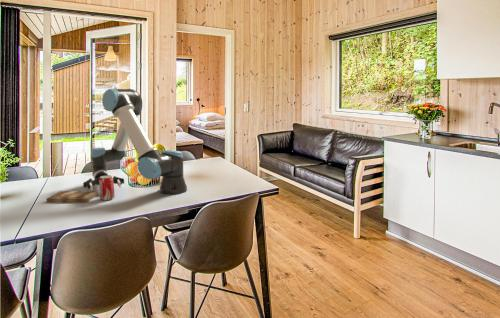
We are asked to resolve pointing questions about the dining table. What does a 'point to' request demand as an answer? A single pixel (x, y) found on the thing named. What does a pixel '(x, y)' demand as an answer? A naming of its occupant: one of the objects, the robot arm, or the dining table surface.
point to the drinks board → (72, 197)
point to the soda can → (106, 187)
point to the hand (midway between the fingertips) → (106, 186)
